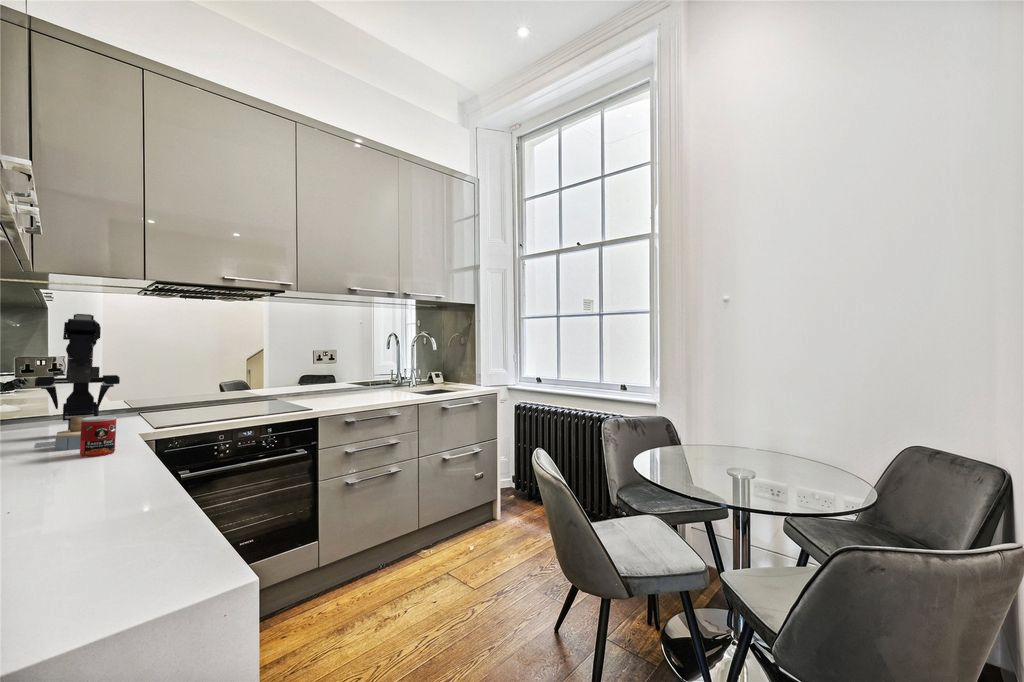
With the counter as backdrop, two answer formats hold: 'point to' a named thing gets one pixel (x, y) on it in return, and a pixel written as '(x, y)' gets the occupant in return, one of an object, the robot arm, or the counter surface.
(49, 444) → the mat
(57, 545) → the counter surface
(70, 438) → the bowl
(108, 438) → the canned food
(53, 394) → the robot arm
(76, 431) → the lid
